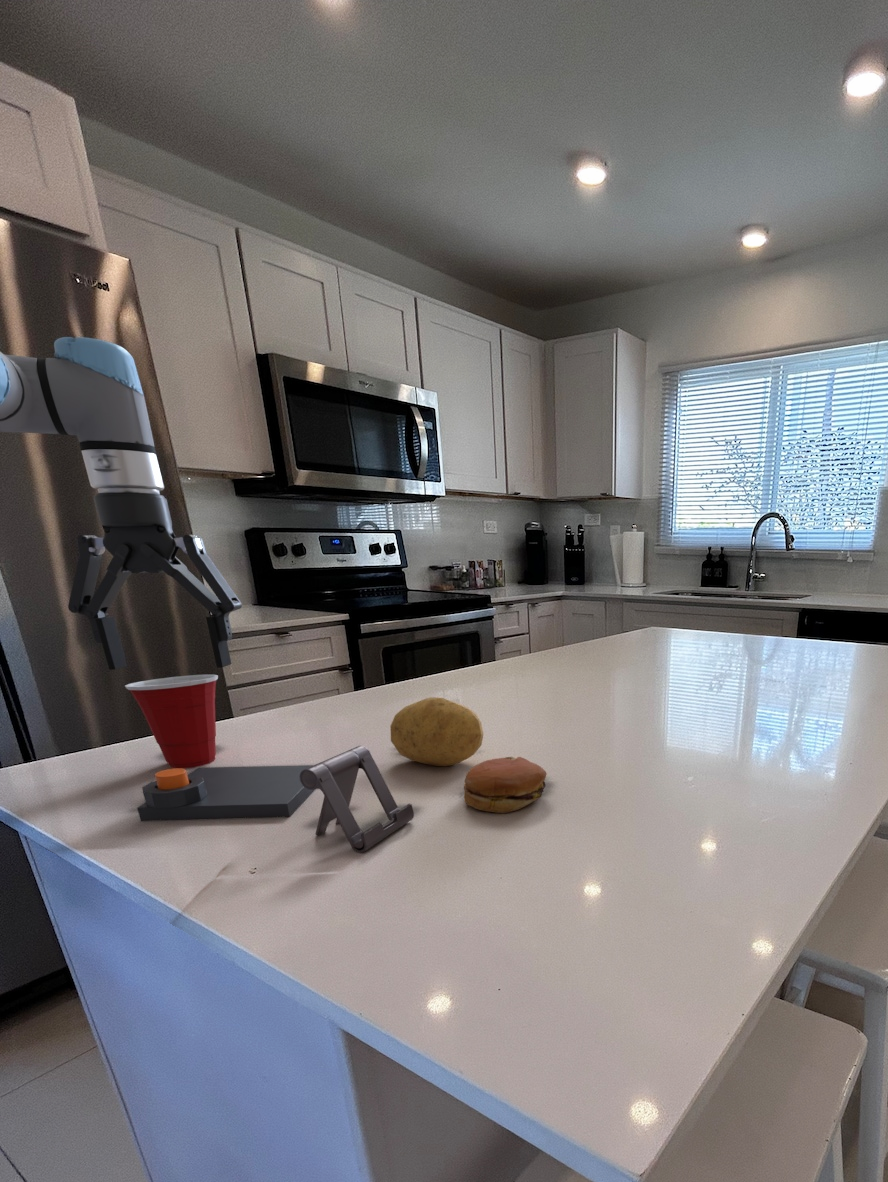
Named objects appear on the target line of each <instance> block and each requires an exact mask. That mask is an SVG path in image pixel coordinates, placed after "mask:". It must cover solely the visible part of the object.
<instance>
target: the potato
mask: <svg viewBox="0 0 888 1182" xmlns="http://www.w3.org/2000/svg"><path fill="white" fill-rule="evenodd" d="M393 717H394V718H392V721H391V723H390V742H391V743H392V745H393V746H394V748H395V749H396V751H397V752H398V754H399V755H401V756H403V757H404V758H406V759H408V760H410V761H414V762H417V763H420V764H425V765H429V766H435V767H451V766H454V765H457V764H459V763H461V762H462V763H463V762H464V761H466V760H468V759H470V758H471V757H473V756H474V755H475V754H476V753H477V751H478V750H479V749H480V748H481V746H482V745H483V739H484V731H483V725H482V724H483V723H482V721H481V720H480V718H479V716H478V715H477V713H476V712H474V711H473V710H472V709H470V708H469V707H468V706H465V705H463V704H460V703H458V702H455V701H452V700H449V699H447V698H444V697H433V696H431V697H427V698H424V699H421V700H419V701H415V702H413V703H411V704H408V705H406V706H404V707H403V708H401V709H400V710H399V711H398V712H397V713H395V715H394V716H393Z"/></svg>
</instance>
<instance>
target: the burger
mask: <svg viewBox="0 0 888 1182" xmlns="http://www.w3.org/2000/svg"><path fill="white" fill-rule="evenodd" d="M547 775H548V773H547V771H546V770H545V769H544V768H543V767H542V766H540V765H539V764H537V763H535V762H531V761H530V760H528V759H526V758H524V757H522V756H517V757H515V756H505V757H499V758H497V757H496V758H492V759H487V760H484V761H482V762H480V763H477V764H476V765H474V766H472V767H471V768H469V771H468V772H466V775H465V777H464V783H463V784H464V785H463V790H464V791H463V792H464V795H463V796H464V797H463V798H464V802H465V804H467V805H468V806H469V807H471V808H474V809H476V810H479V811H483V812H490V813H491V812H492V813H496V814H497V813H498V814H506V813H510V812H511V813H512V812H515V811H518V810H521V809H523V808H524V807H526V806H528V805H530V804H531V803H534V802H535V801H537V800H539V799H540V798H541V797H542V795H543V792H545V791H544V789H545V788H546V786H547V784H546V781H545V780H546V777H547Z"/></svg>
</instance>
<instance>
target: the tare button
mask: <svg viewBox="0 0 888 1182" xmlns="http://www.w3.org/2000/svg"><path fill="white" fill-rule="evenodd" d="M187 775H188V772H187V769H186V768H168V769H164V770H160V771H157V772H155V774H154V777H155V781H157V785H158V789H160V790H166V789H175V788H180V787H184V786H187V785H189V780H188V776H187Z"/></svg>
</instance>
